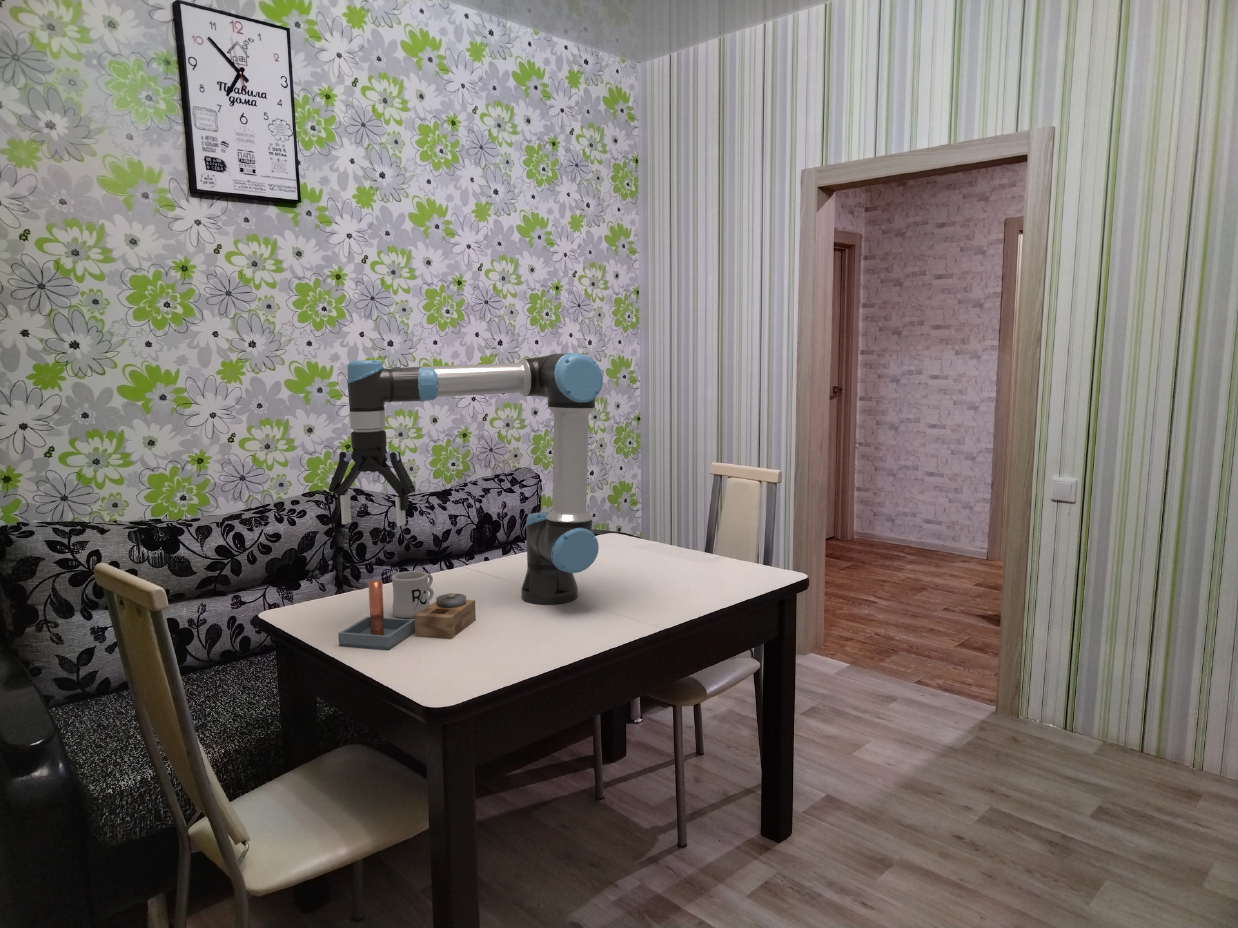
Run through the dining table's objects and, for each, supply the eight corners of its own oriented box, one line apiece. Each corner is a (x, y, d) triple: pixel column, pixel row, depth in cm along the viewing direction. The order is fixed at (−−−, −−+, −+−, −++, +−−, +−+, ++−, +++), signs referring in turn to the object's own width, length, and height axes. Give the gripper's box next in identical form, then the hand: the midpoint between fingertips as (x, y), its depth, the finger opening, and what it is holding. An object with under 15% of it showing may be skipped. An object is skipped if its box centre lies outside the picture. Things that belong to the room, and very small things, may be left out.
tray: (415, 631, 194) (415, 619, 194) (389, 650, 182) (388, 637, 182) (368, 628, 197) (367, 616, 197) (338, 646, 185) (338, 633, 185)
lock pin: (386, 634, 191) (384, 579, 189) (380, 638, 188) (377, 583, 186) (375, 633, 192) (372, 579, 190) (368, 637, 189) (365, 582, 187)
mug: (410, 621, 202) (409, 581, 201) (384, 615, 207) (383, 576, 206) (446, 608, 213) (445, 570, 211) (421, 603, 217) (419, 566, 216)
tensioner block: (475, 620, 203) (474, 591, 202) (451, 638, 189) (450, 607, 188) (441, 617, 205) (440, 589, 204) (415, 636, 192) (413, 605, 191)
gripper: (427, 428, 184) (432, 522, 187) (328, 428, 190) (333, 518, 193) (411, 431, 177) (416, 529, 180) (308, 431, 183) (314, 525, 186)
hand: (373, 524), depth 187 cm, fingers open, 13 cm apart
